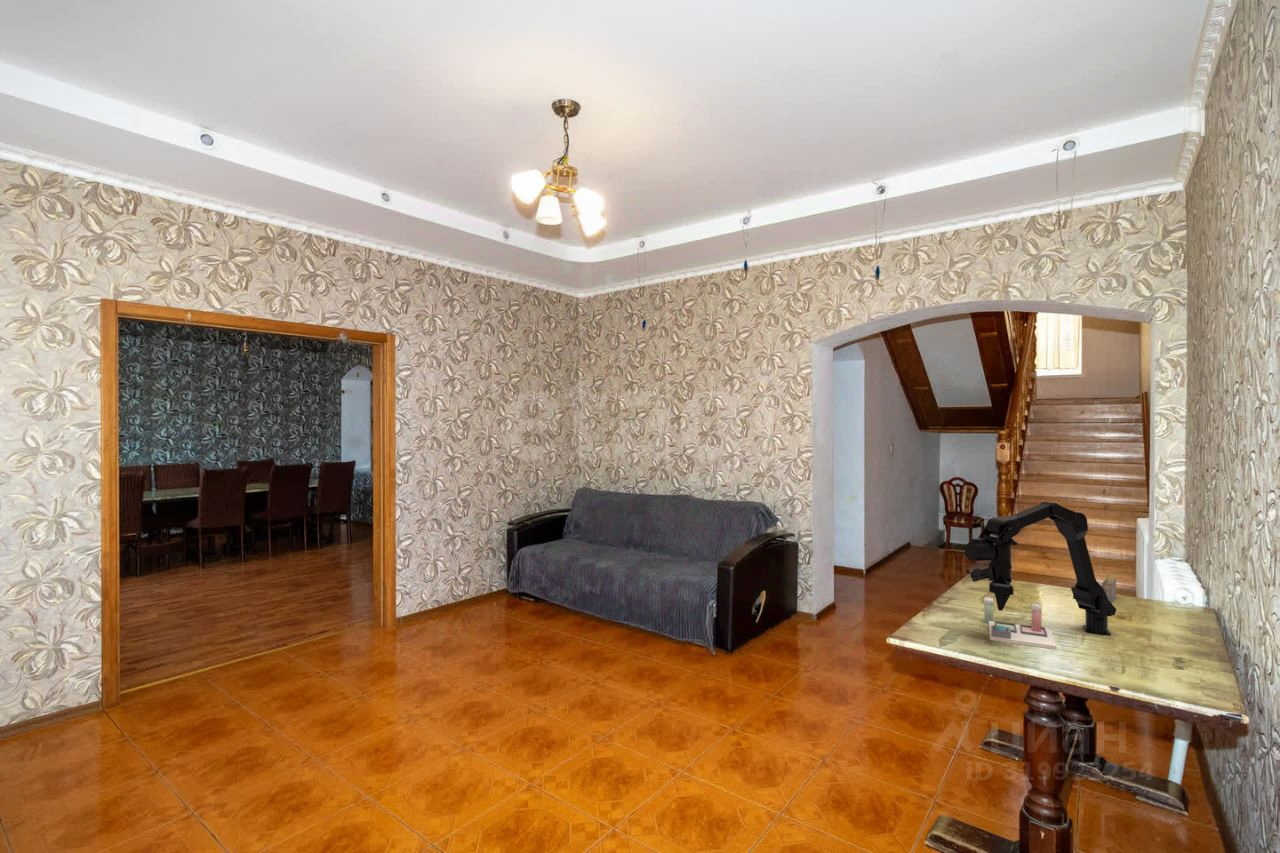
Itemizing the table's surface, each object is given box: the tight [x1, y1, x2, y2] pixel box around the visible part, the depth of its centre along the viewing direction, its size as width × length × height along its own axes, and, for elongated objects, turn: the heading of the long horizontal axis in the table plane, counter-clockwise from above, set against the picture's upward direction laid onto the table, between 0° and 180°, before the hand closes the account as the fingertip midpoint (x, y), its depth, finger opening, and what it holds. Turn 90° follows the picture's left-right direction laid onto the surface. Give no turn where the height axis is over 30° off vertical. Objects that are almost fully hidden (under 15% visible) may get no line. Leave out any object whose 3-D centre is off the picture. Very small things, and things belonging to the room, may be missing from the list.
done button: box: [995, 626, 1007, 631], centre depth 190 cm, size 3×3×2 cm
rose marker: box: [1030, 603, 1043, 632], centre depth 195 cm, size 3×3×8 cm
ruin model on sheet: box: [1101, 571, 1117, 604], centre depth 232 cm, size 11×3×10 cm, turn 134°
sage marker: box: [983, 596, 994, 624], centre depth 206 cm, size 3×3×8 cm
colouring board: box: [988, 620, 1058, 650], centre depth 193 cm, size 17×17×3 cm
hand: (1000, 610), depth 190 cm, fingers closed
